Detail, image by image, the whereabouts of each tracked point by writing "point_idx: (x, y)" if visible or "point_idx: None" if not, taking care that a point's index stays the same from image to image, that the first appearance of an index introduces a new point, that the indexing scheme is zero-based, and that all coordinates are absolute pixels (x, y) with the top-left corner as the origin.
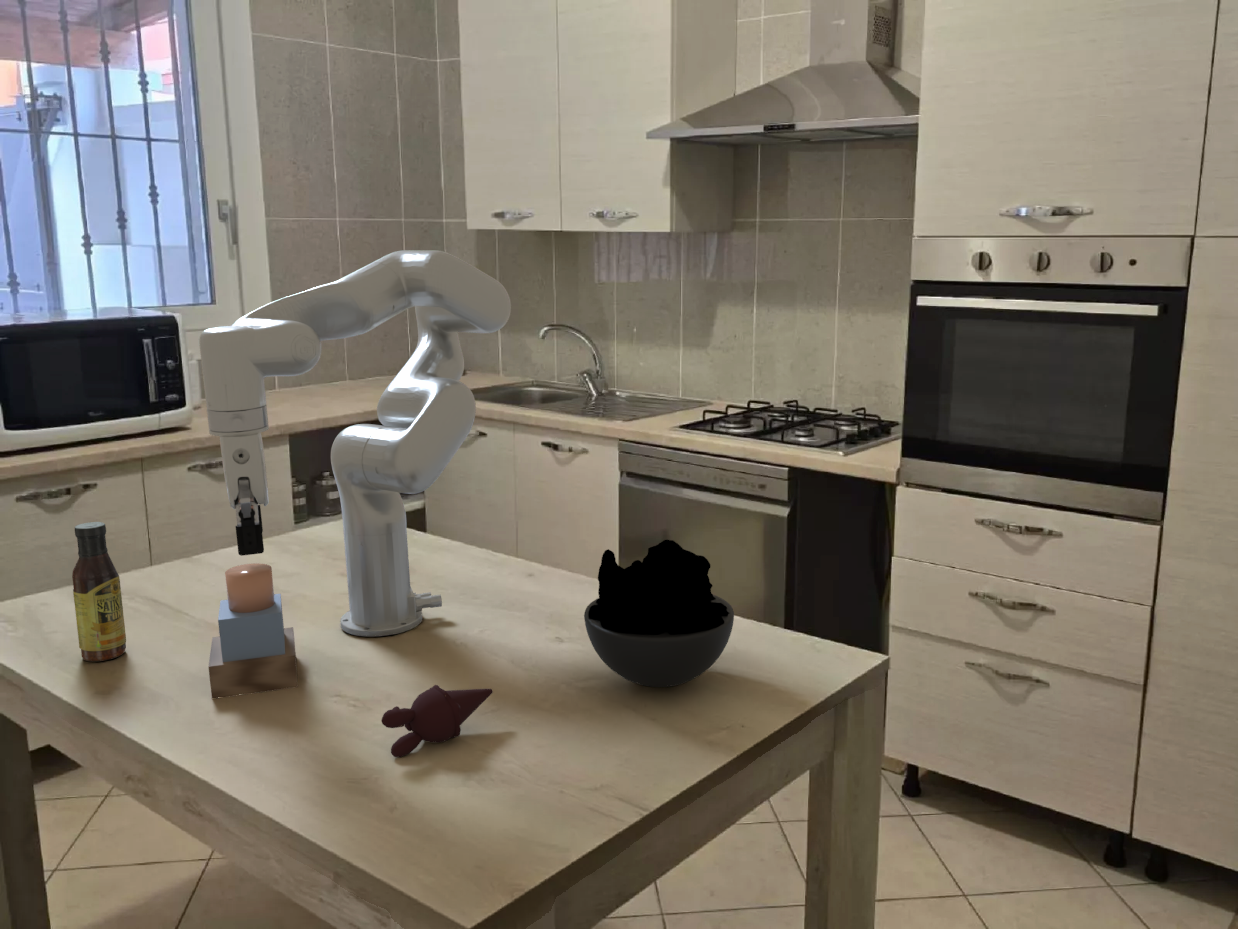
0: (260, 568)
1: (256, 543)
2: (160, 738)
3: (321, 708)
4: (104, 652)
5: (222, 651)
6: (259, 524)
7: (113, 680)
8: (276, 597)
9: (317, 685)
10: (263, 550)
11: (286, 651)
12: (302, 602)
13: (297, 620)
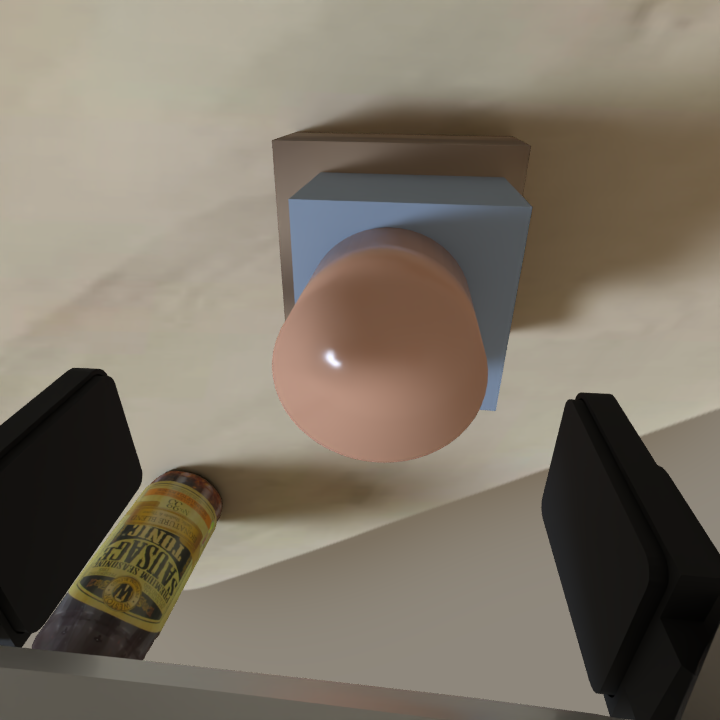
0: (367, 328)
1: (671, 484)
2: None
3: (702, 73)
4: (215, 507)
5: None
6: (715, 587)
7: (310, 482)
8: (334, 217)
9: (530, 76)
10: (615, 399)
11: (481, 172)
12: None
13: (17, 114)
